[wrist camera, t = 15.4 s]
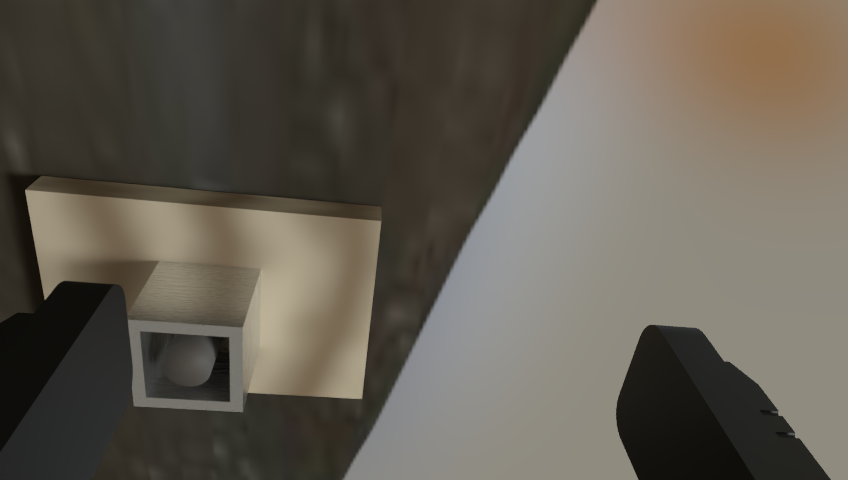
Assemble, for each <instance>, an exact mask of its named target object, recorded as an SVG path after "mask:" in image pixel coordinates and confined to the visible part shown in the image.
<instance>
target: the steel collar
mask: <svg viewBox="0 0 848 480" xmlns="http://www.w3.org/2000/svg"><path fill="white" fill-rule="evenodd" d="M260 309H261V269H257V268H245V267H232V266H220V265H207V264H195V263H183V262H170V261H159V262H158V264H157V266H156V267H155V269H154V271H153V272H152V274H151V276H150V277H149V279H148V281H147V282H146V284H145V286H144V288H143V289H142V291H141V293H140V294H139V296H138V298H137V299H136V301H135V303H134V304H133V306H132V308H131V309H130V311H129V313H128V315H127V318H128V327H129V336H130V346H131V355H132V364H133V380H132V392H133V401H134V406H141V407H160V408H178V409H196V410H214V411H233V412H243V409H244V406H245V402H246V398H247V394H248V390H249V387H250V383H251V379H252V375H253V371H254V367H255V364H256V360H257V356H258V352H259V348H260ZM175 334H188V335H203V336H218V337H223V340H222V343H221V346H220V349H219V352H218V354H217V357H216V360H215V363H214V366H213V369H212V372H211V374H210V377H209V378H208V380H207V381H206V382H204V383H203V384H201V385H198V386H193V387H186V386H181V385H178V384H175V383H174V382H172V381H170V380H169V379H168V378H167V377H166V376H165V374H164V372H163V370H162V362H163V360H164V357H165V355H166V353H167V351H168V349H169V347H170V344H171V342H172V340H173V338H174V336H175Z"/></svg>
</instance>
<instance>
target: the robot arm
mask: <svg viewBox="0 0 848 480" xmlns="http://www.w3.org/2000/svg"><path fill="white" fill-rule="evenodd" d="M132 380H133V364H132V355H131V346H130V336H129V327H128V318H127V309H126V300H125V294H124V291H123V289H122V287H121V286H120V285H117V284H104V283H90V282H76V281H62V282H60V283H59V284H58V285H57V286H56V287H55V288H54V290H53V291H52V292H51V293H50V295H49V296H48V297H47V298H46V300H45V301H44V302H43V303H42V304H41V306H40V307H39V308H38V309H37V311H36V312H35V313H34V314H31V313H16V314H15V315H13V316H11V317H10V318H8V319H6V320H5V321H3V322H1V323H0V480H91V479H92V477H93V475H94V473H95V471H96V469H97V467H98V465H99V463H100V461H101V459H102V456H103V454H104V452H105V450H106V448H107V446H108V444H109V442H110V440H111V438H112V436H113V434H114V432H115V430H116V428H117V426H118V424H119V422H120V420H121V418H122V416H123V413H124V411H125V409H126V407H127V404H128V401H129V397H130V393H131V387H132ZM616 420H617V427H618V432H619V435H620V438H621V440H622V443H623V445H624V447H625V450H626V452H627V454H628V457H629V459H630V461H631V463H632V466H633V468H634V470H635V473H636V475H637V477H638V479H639V480H831V479H830V478H829V477H828V475H827V474H826V473H825V472H824V470H823V469H822V468H821V466H820V465H819V464H818V462H817V461H816V460H815V458H814V457H813V456H812V454H811V453H810V452H809V450H808V449H807V448H806V447H805V445H804V444H803V443H802V441H801V440H800V439H799V438H795V432H794V431H793V429H792V428H791V427H790V426H789V424H788V423H787V422H786V420H785V419H784V418H783V416H778V410H777V409H776V407H775V406H774V404H773V403H772V402H771V401H770V399H769V398H768V397H767V395H766V394H765V393H764V391H763V390H762V389H761V388H760V386H759V385H758V384H757V383H755V382H754V381H753V380H752V379H750V378H749V377H748V376H747V375H745V374H744V373H743V372H742V371H740V370H739V369H738V368H737V367H735V366H734V365H733V364H731V363H730V362H724V361H723V359H722V358H721V357H720V355H719V354H718V353H717V351H716V350H715V348H714V347H713V346H712V344H711V343H710V342H709V340H708V339H707V337H706V336H705V335H704V334H703V332H702V331H700V330H699V329H697V328H687V327H673V326H660V325H649V326H647V327H646V328H645V329H644V330H643V332H642V334H641V336H640V339H639V341H638V344H637V347H636V350H635V352H634V355H633V358H632V361H631V364H630V366H629V369H628V372H627V375H626V378H625V380H624V383H623V386H622V389H621V391H620V395H619V398H618V402H617V409H616Z"/></svg>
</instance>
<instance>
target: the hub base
mask: <svg viewBox="0 0 848 480" xmlns="http://www.w3.org/2000/svg"><path fill="white" fill-rule="evenodd" d="M25 193H26V199H27V204H28V210H29V215H30V221H31V226H32V232H33V237H34V243H35V248H36V254H37V259H38V265H39V270H40V276H41V282H42V287H43V293H44V298H45V300H46V298H47V297H48V296H49V295H50V293H51V292H52V291H53V290H54V288H55V287H56V286H57V285H58V284H59V283H60V282H62V281H76V282H90V283H104V284H117V285H120V286H121V287H122V289H123V291H124V294H125V300H126V309H127V315H128V313H129V311H130V309H131V308H132V306H133V304H134V303H135V301H136V299H137V298H138V296H139V294H140V293H141V291H142V289H143V288H144V286H145V284H146V282H147V281H148V279H149V277H150V276H151V274H152V272H153V271H154V269H155V267H156V266H157V264H158V262H159V261H170V262H183V263H195V264H207V265H220V266H232V267H245V268H257V269H261V309H260V348H259V352H258V356H257V360H256V364H255V367H254V371H253V375H252V379H251V383H250V387H249V390H248V393H264V394H282V395H300V396H318V397H336V398H354V399H362V392H363V383H364V374H365V365H366V356H367V347H368V337H369V328H370V319H371V310H372V301H373V292H374V283H375V274H376V264H377V255H378V246H379V237H380V228H381V207H380V206H369V205H358V204H347V203H336V202H325V201H314V200H303V199H292V198H281V197H270V196H259V195H248V194H237V193H226V192H215V191H204V190H192V189H181V188H170V187H159V186H148V185H137V184H126V183H115V182H104V181H93V180H82V179H71V178H60V177H49V176H41V177H39V178H38V179H37V180H36V181H35V182H34V183H32V184H31V185H30V186H29V187H28V188H27V189H25ZM222 340H223V337H218V336H203V335H188V334H175V336H174V338H173V340H172V342H171V344H170V347H169V349H168V351H167V353H166V355H165V357H164V360H163V362H162V370H163V372H164V374H165V376H166V377H167V378H168V379H169V380H170V381H172V382H174V383H175V384H178V385H181V386H186V387H193V386H198V385H201V384H203V383H204V382H206V381H207V380H208V378H209V377H210V374H211V372H212V369H213V366H214V363H215V360H216V357H217V354H218V352H219V349H220V346H221V343H222Z"/></svg>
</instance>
